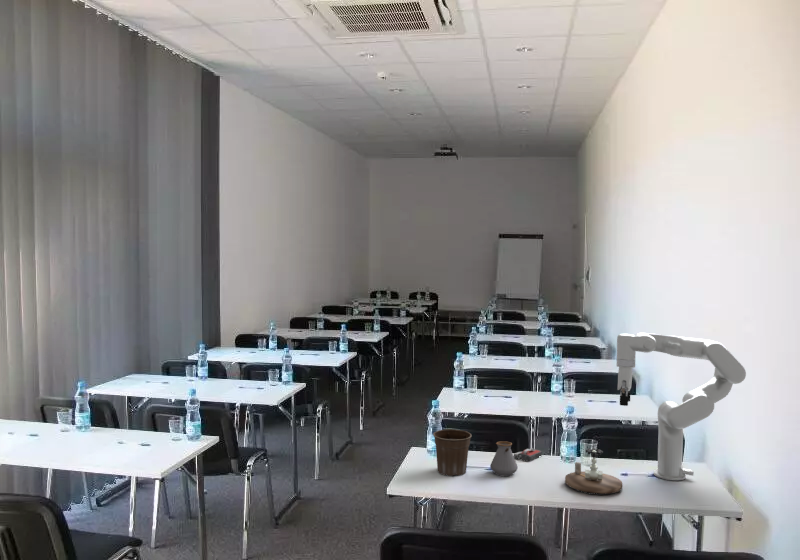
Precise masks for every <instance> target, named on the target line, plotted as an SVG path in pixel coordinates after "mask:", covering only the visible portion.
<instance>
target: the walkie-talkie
mask: <svg viewBox="0 0 800 560" xmlns="http://www.w3.org/2000/svg"><path fill="white" fill-rule="evenodd" d="M513 456H514V459H517V458H518V459H517V460H520V459H522V460H521V461H524V460H525V461H524V462H532V461H535V460H537V459H539V456H541V457H542V450H540V449H535V448H532V447H531V448H526V449H523V451H518V452H515V453H514V454H513Z"/></svg>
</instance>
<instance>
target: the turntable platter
mask: <svg viewBox="0 0 800 560" xmlns="http://www.w3.org/2000/svg"><path fill="white" fill-rule="evenodd" d="M564 482H565V484H566V485H567V486H568V487H570V488H572V489H574V490H575V489H577V490H576V491H578V490H580V491H579V492H581V491H584V492H590V493H601V494H603V495H606V494H605V493H611V494H613V493H618V492H620V491H621V490H622V489H623V481H622V480H621V479H619V477H616V476H614V475H611V474H607V473H603V472H602V481H601V480H595V481H594V480H591V479H585V471H582V462H579V461H576V462H575V463H574V472H570V473H568V474H565V477H564ZM584 492H583V493H584Z"/></svg>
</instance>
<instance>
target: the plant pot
mask: <svg viewBox="0 0 800 560" xmlns="http://www.w3.org/2000/svg"><path fill="white" fill-rule="evenodd" d="M433 437H434V444H435V451H436V453H435V454H436V465H437V467H436V469H437V471H438V473H439V474H440V473H441V475H443V476H447V475H448V476H449V477H454V476H455V475H456V476H457V477H458V476H462V475H465V474H466V473H467V465H468V457H469V456H468V454H469V448H470V447H469V446H470V444H471V438H472V433H470V432H468V431H466V430H461V429H453V428H452V429H449V428H448V429H439V430H436V431H434V432H433Z"/></svg>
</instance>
